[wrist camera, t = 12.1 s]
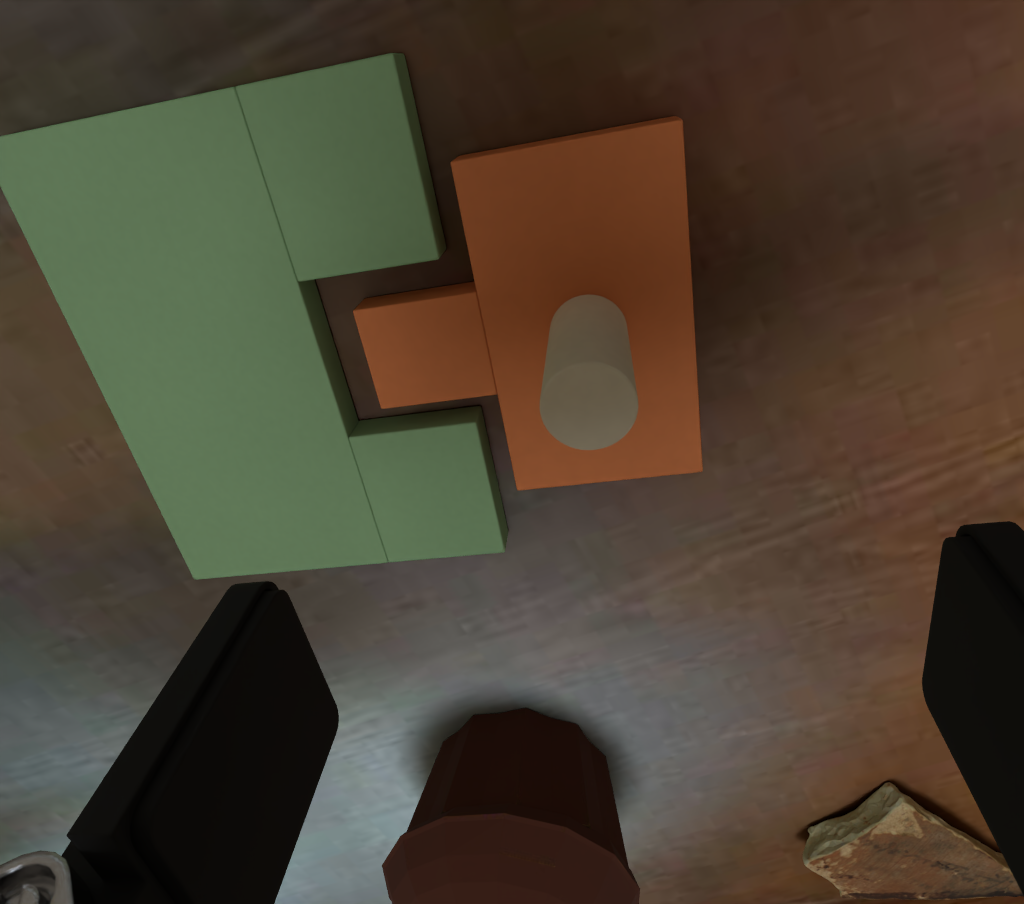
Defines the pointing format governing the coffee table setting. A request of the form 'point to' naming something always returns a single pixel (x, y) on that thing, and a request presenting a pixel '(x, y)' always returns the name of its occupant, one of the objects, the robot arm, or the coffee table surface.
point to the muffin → (514, 820)
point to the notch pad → (255, 315)
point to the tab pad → (534, 268)
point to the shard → (904, 854)
